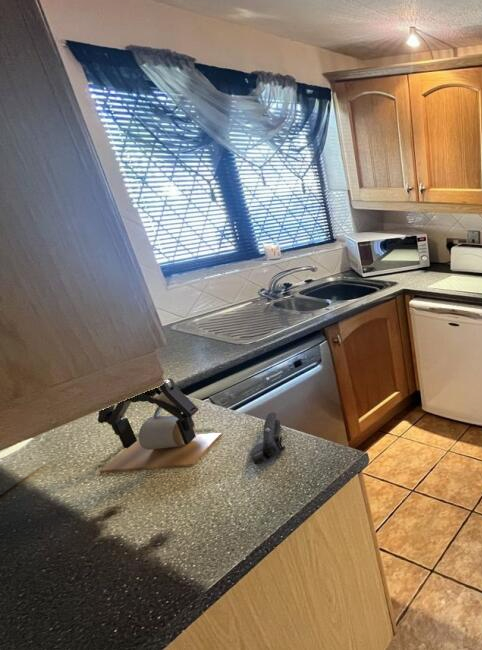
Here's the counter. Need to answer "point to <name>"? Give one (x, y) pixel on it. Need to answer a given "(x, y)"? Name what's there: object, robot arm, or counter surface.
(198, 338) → the counter surface
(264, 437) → the can opener
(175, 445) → the ceramic mug
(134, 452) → the oak board
